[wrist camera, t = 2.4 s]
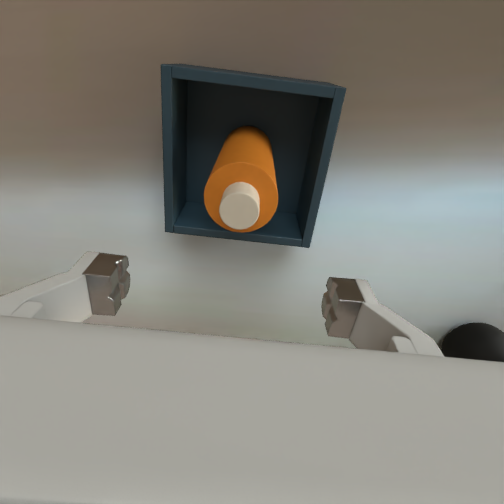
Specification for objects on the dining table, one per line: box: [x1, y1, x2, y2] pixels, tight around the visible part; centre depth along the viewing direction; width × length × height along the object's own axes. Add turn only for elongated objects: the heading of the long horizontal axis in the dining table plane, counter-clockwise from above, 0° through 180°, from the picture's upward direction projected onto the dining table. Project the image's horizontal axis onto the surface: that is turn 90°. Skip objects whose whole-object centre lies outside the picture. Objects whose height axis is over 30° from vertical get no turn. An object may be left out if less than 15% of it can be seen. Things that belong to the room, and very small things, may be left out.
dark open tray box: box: [161, 64, 346, 248], centre depth 30 cm, size 14×14×7 cm
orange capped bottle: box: [204, 126, 278, 233], centre depth 26 cm, size 5×5×15 cm
